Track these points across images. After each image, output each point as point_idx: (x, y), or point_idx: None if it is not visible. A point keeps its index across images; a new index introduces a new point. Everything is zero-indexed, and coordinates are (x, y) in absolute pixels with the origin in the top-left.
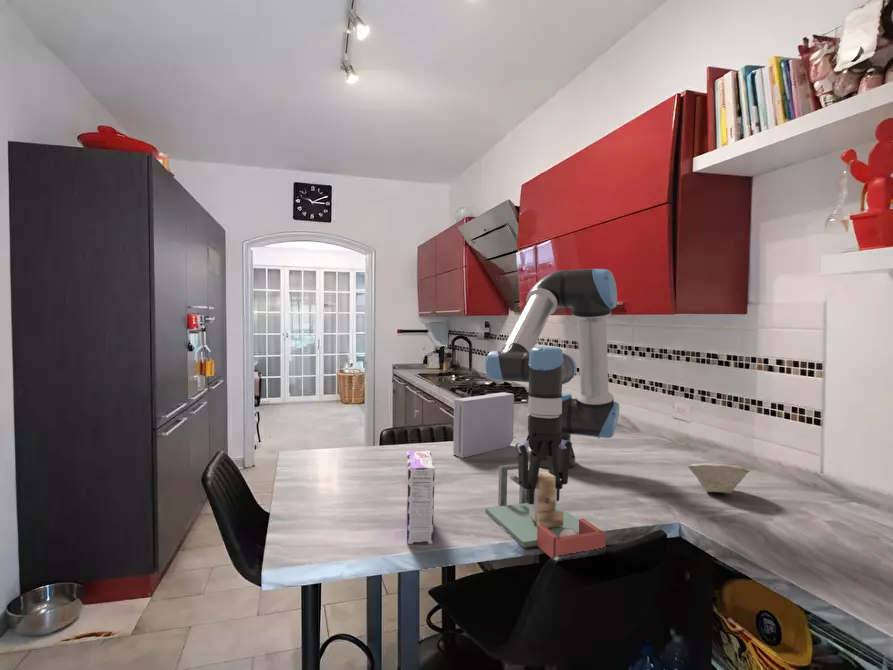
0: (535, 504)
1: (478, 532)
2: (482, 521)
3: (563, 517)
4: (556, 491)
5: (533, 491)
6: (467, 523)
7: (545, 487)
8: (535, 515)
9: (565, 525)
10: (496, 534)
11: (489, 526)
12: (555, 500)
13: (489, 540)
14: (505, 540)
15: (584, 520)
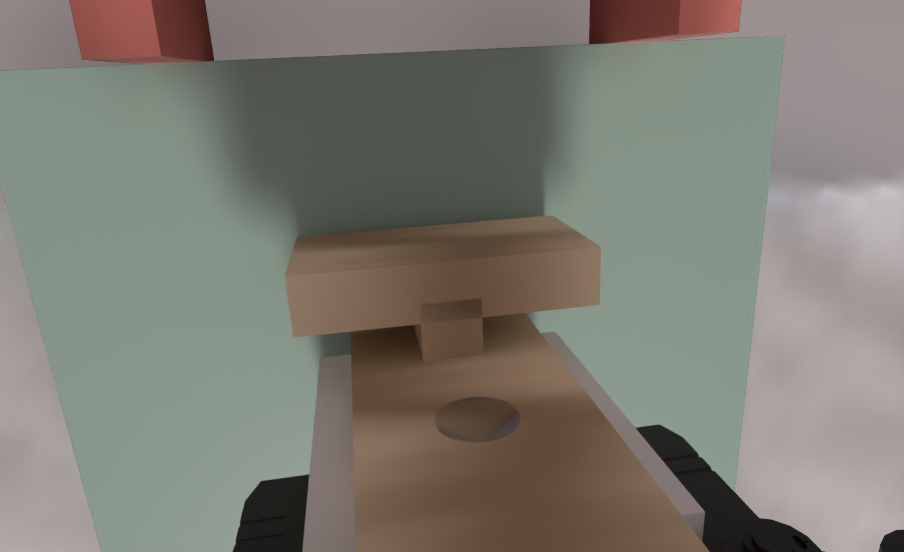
0: (612, 403)
1: (893, 353)
2: (781, 508)
3: (189, 442)
4: (307, 543)
5: (699, 535)
6: (881, 490)
7: (576, 542)
8: (563, 348)
9: (250, 277)
10: (805, 302)
11: (781, 430)
12: (326, 455)
13: (897, 220)
14: (801, 195)
15: (95, 2)
